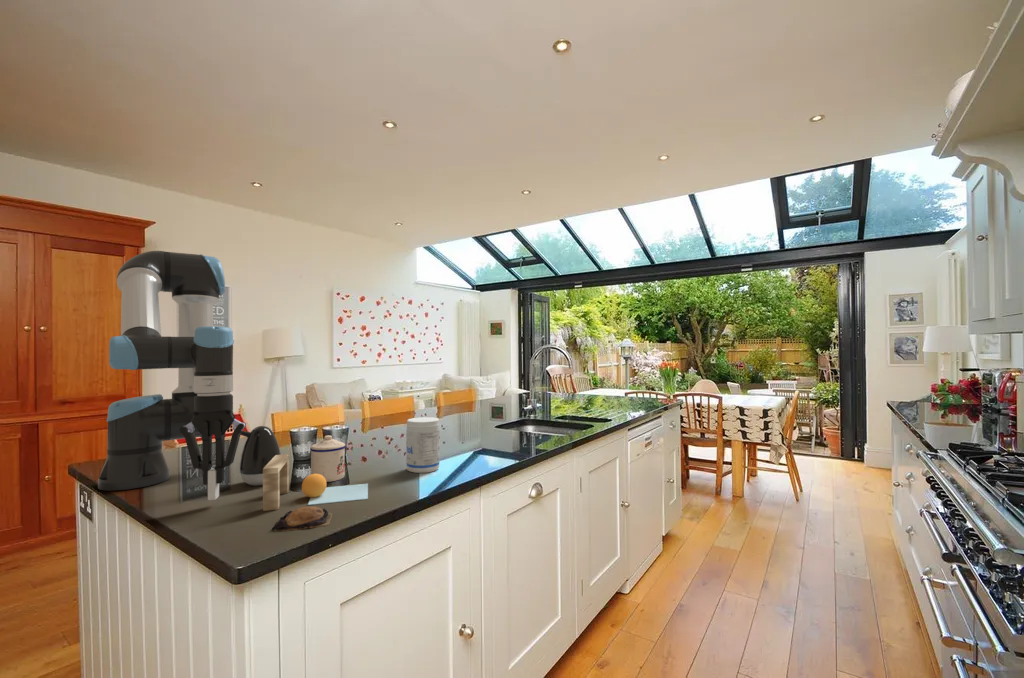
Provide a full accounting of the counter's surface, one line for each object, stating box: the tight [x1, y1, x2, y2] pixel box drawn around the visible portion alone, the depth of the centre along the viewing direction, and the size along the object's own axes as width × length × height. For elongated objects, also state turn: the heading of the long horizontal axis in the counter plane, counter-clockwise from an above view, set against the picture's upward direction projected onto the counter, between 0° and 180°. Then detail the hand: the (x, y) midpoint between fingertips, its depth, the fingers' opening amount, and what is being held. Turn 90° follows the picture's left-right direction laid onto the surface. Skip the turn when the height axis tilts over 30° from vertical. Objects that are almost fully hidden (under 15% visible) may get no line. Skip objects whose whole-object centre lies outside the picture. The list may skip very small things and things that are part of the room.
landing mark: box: [307, 483, 369, 506], centre depth 113 cm, size 13×13×1 cm
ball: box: [301, 473, 328, 498], centre depth 111 cm, size 6×6×6 cm
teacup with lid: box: [309, 434, 346, 483], centre depth 129 cm, size 12×9×12 cm
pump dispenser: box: [238, 425, 282, 487], centre depth 124 cm, size 10×10×15 cm
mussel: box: [272, 506, 333, 532], centre depth 95 cm, size 11×8×4 cm
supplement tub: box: [406, 416, 440, 474], centre depth 136 cm, size 10×10×15 cm
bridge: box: [262, 453, 290, 512], centre depth 109 cm, size 3×14×9 cm, turn 17°
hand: (213, 498), depth 105 cm, fingers closed
